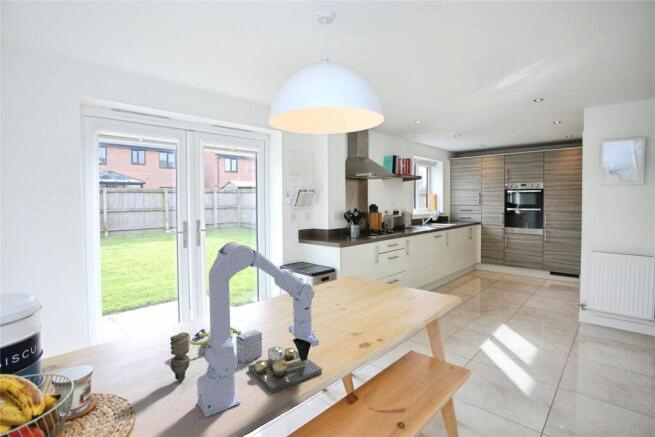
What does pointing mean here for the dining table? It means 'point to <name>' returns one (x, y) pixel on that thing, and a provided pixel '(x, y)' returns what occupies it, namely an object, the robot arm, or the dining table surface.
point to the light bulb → (180, 354)
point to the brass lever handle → (285, 366)
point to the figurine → (203, 334)
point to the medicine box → (249, 345)
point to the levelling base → (293, 375)
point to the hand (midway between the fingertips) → (303, 359)
